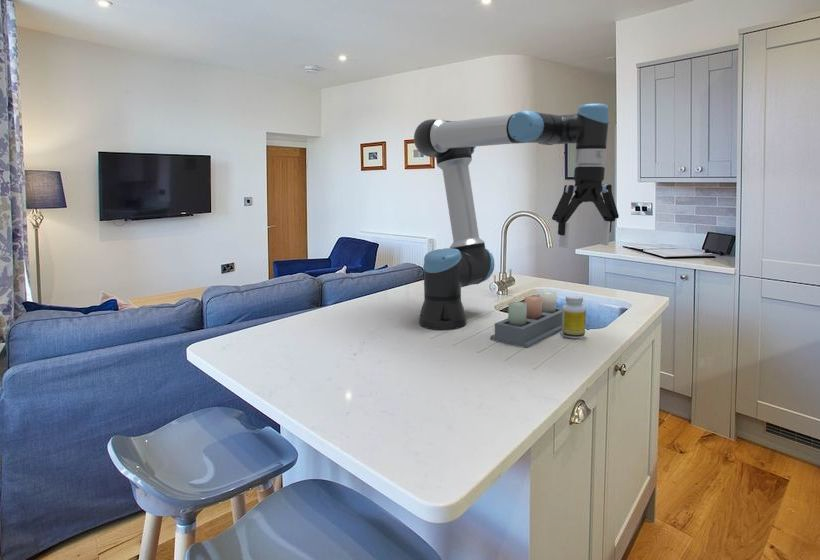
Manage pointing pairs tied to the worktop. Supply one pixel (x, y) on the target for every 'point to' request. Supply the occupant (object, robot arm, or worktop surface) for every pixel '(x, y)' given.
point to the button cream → (548, 301)
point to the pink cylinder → (534, 307)
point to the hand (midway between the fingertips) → (583, 246)
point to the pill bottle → (573, 317)
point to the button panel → (529, 330)
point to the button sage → (517, 313)
